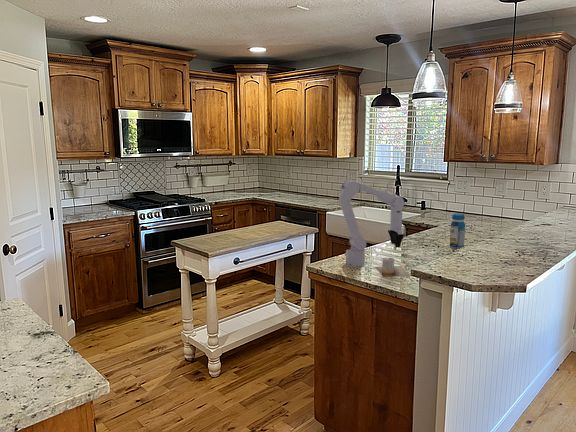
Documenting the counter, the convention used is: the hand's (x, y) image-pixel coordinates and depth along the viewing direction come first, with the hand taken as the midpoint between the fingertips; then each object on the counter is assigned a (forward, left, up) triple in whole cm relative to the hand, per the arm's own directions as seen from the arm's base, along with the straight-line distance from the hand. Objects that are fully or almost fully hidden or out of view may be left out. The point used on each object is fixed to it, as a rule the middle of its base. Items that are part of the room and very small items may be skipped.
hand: (395, 245), depth 229 cm
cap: (-9, -19, -7) cm, 22 cm away
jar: (-9, -19, -9) cm, 23 cm away
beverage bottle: (+46, +32, -10) cm, 57 cm away
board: (-6, -16, -10) cm, 20 cm away
